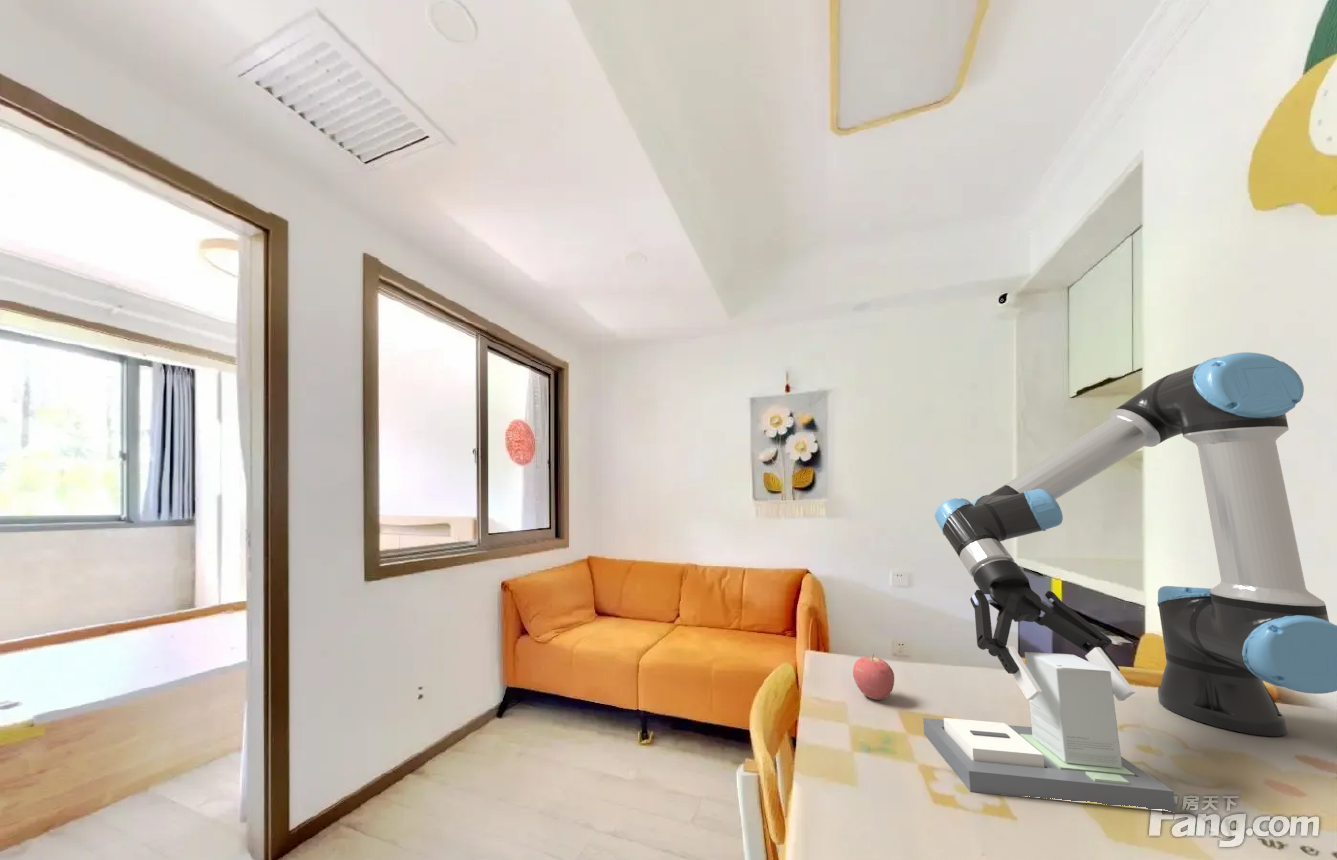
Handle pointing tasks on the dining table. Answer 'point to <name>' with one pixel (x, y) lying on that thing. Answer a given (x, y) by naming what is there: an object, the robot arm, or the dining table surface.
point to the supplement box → (1074, 709)
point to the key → (1070, 766)
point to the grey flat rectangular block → (1033, 767)
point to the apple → (873, 677)
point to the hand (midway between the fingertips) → (1081, 696)
